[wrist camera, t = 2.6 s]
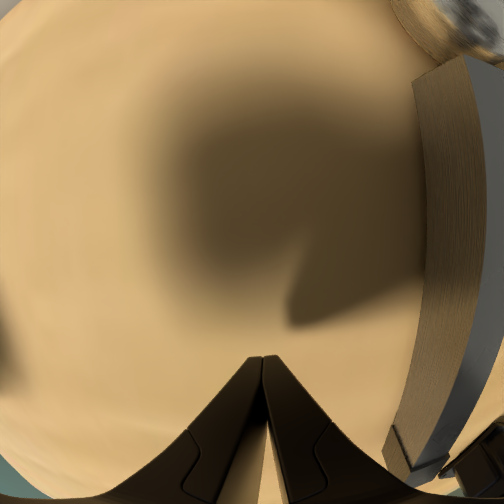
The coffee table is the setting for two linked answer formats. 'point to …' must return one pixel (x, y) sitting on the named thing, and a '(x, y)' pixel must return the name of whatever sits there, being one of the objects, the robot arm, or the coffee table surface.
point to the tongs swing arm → (454, 229)
